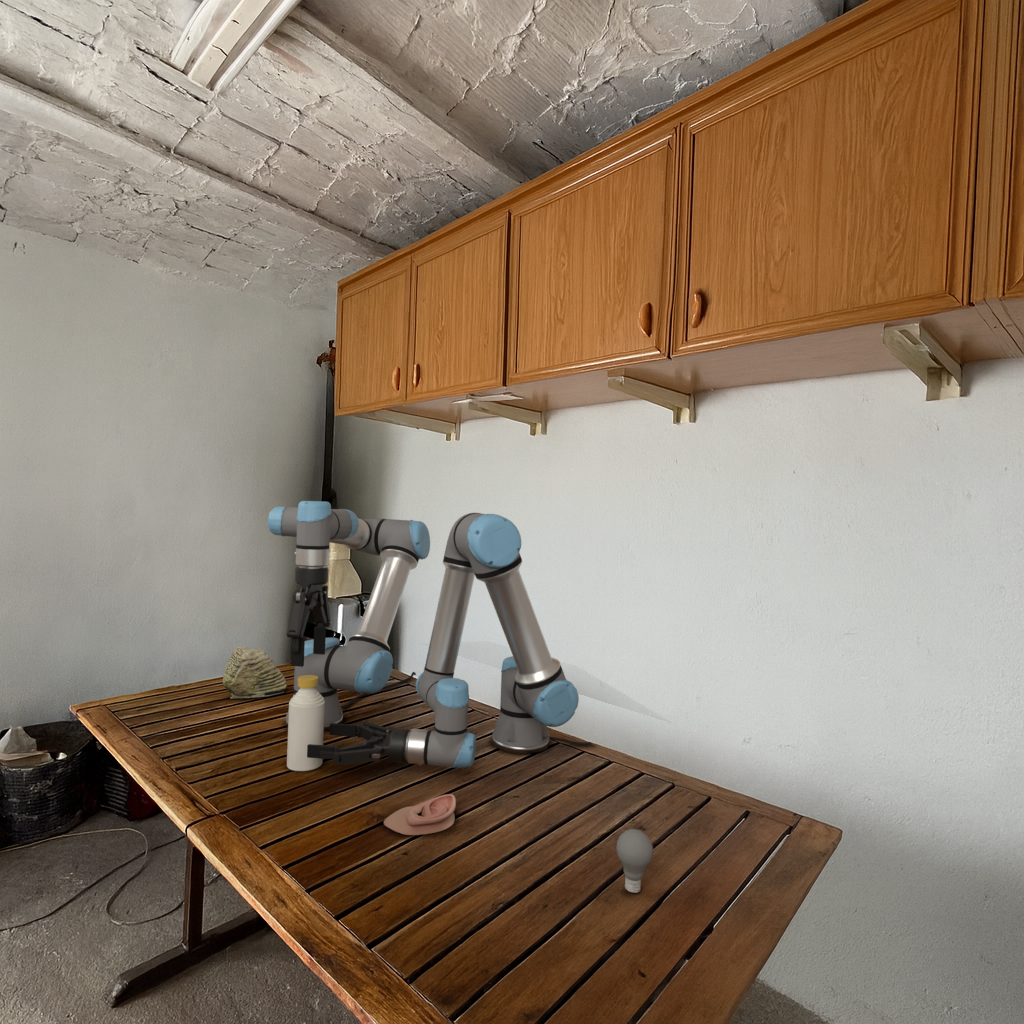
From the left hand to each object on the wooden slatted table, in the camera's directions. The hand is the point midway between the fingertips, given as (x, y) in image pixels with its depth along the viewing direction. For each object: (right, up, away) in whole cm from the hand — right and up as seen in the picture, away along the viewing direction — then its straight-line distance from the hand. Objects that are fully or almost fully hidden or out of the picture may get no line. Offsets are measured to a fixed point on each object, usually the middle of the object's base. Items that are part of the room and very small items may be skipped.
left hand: (308, 659), depth 149 cm
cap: (0, -5, 0) cm, 5 cm away
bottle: (-1, -25, 0) cm, 25 cm away
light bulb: (+68, -29, -43) cm, 86 cm away
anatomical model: (+30, -27, -24) cm, 47 cm away
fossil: (-33, -22, +49) cm, 63 cm away
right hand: (+3, -18, -1) cm, 19 cm away
